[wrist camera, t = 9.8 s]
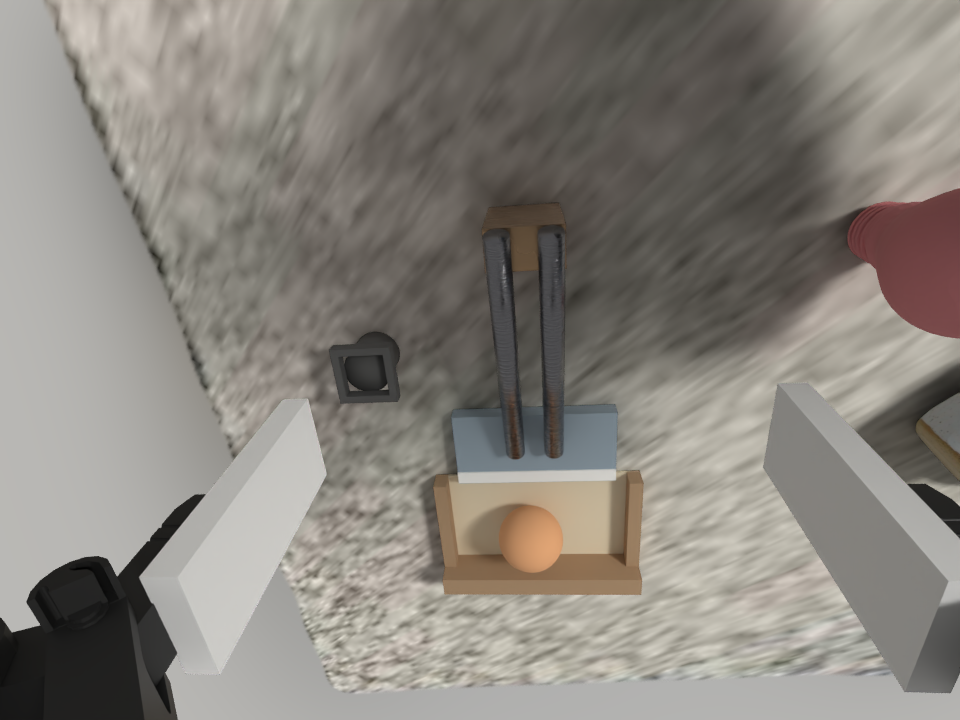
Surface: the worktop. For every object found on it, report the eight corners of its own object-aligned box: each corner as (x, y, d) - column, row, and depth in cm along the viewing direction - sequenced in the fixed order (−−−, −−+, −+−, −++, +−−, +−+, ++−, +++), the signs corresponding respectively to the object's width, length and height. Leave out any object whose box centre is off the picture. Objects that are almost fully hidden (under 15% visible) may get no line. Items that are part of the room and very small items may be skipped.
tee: (346, 328, 39) (328, 350, 35) (400, 325, 38) (388, 347, 35) (356, 377, 41) (340, 403, 37) (408, 375, 40) (398, 401, 37)
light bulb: (798, 192, 33) (933, 238, 22) (930, 144, 31) (1144, 169, 20) (816, 297, 35) (944, 384, 25) (938, 258, 34) (1131, 333, 23)
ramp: (488, 206, 34) (478, 235, 27) (558, 201, 34) (568, 229, 27) (505, 439, 42) (501, 512, 35) (563, 437, 42) (571, 511, 34)
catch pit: (436, 474, 44) (430, 499, 41) (639, 470, 42) (647, 495, 40) (449, 566, 48) (444, 594, 45) (634, 565, 47) (641, 594, 44)
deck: (453, 409, 41) (450, 418, 40) (615, 404, 40) (617, 413, 39) (460, 474, 44) (458, 484, 43) (613, 470, 43) (615, 481, 41)
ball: (484, 541, 40) (488, 554, 45) (542, 581, 39) (541, 590, 43) (519, 485, 42) (521, 503, 46) (577, 521, 40) (572, 535, 45)
